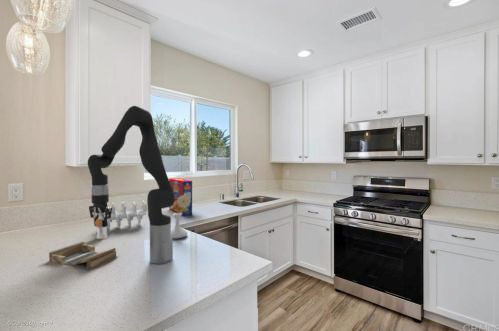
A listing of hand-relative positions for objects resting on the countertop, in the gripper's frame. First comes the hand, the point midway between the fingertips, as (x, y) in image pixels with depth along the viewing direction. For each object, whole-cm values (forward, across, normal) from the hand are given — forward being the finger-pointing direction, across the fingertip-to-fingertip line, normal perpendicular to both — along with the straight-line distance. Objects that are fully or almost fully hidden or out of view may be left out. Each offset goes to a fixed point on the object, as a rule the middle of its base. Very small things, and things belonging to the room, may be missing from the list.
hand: (100, 226), depth 126 cm
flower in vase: (+12, -26, -30) cm, 41 cm away
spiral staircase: (+12, +18, -32) cm, 39 cm away
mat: (+12, -5, +12) cm, 18 cm away
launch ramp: (+12, -11, +12) cm, 20 cm away
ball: (-2, 0, 0) cm, 2 cm away
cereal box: (+11, +12, -83) cm, 85 cm away
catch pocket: (+11, +3, +12) cm, 17 cm away
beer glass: (+12, +14, -12) cm, 22 cm away
